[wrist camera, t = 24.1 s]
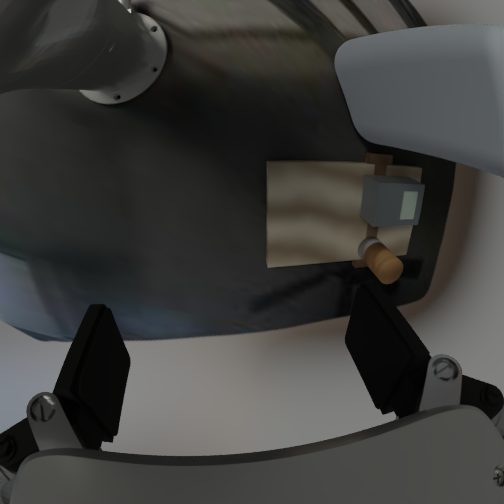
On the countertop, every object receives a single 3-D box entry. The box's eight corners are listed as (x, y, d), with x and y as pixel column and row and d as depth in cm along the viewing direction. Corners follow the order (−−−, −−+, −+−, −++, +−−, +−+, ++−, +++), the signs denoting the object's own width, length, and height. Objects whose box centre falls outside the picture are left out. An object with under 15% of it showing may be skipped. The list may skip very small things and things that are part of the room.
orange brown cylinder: (359, 237, 41) (382, 260, 35) (381, 235, 41) (405, 257, 35) (356, 260, 43) (376, 285, 37) (377, 258, 43) (399, 282, 37)
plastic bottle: (407, 33, 27) (571, 25, 3) (434, 124, 35) (588, 182, 10) (321, 46, 29) (502, -9, 4) (357, 149, 36) (531, 240, 11)
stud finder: (364, 174, 36) (379, 183, 32) (409, 177, 37) (425, 185, 33) (359, 215, 39) (373, 227, 35) (403, 214, 40) (418, 225, 36)
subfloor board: (266, 149, 35) (268, 151, 34) (418, 157, 37) (423, 159, 36) (266, 272, 43) (267, 276, 42) (400, 258, 46) (404, 262, 45)
